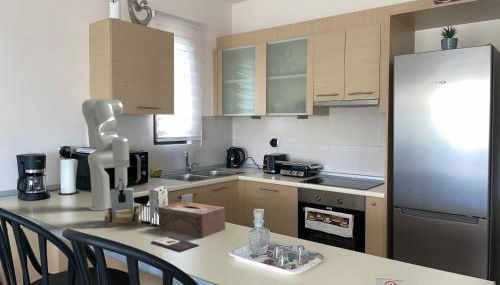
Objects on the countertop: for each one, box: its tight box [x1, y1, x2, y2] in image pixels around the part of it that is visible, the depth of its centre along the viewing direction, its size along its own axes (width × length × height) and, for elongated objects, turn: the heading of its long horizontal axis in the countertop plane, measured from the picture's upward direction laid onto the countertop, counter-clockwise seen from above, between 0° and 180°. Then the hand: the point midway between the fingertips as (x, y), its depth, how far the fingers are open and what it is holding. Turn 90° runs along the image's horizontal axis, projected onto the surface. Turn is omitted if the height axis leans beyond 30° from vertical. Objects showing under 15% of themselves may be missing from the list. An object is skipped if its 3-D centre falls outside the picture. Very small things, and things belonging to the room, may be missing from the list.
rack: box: [104, 205, 141, 228], centre depth 195 cm, size 14×14×6 cm
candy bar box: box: [148, 185, 169, 226], centre depth 193 cm, size 11×5×16 cm, turn 168°
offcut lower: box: [111, 214, 134, 223], centre depth 193 cm, size 4×9×4 cm, turn 103°
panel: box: [110, 187, 135, 218], centre depth 199 cm, size 4×10×14 cm, turn 102°
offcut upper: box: [115, 209, 130, 218], centre depth 193 cm, size 4×6×2 cm, turn 116°
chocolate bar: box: [150, 236, 200, 253], centre depth 159 cm, size 9×1×18 cm
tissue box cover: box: [158, 201, 226, 239], centre depth 181 cm, size 26×14×10 cm, turn 55°
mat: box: [81, 219, 105, 229], centre depth 193 cm, size 11×11×1 cm
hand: (122, 201), depth 198 cm, fingers closed on panel, 3 cm apart
